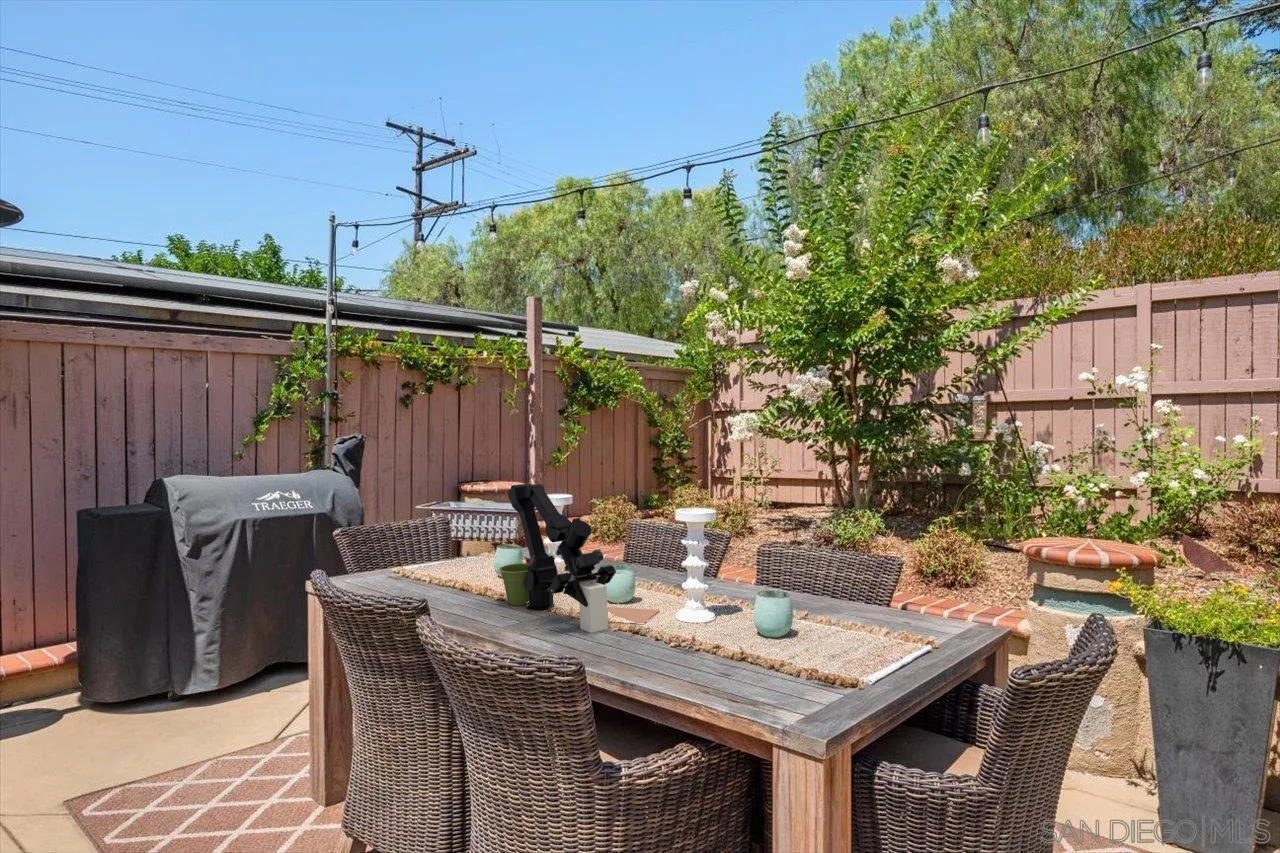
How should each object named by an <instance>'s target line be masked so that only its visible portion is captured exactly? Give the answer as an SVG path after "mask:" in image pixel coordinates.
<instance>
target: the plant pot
mask: <svg viewBox="0 0 1280 853" xmlns="http://www.w3.org/2000/svg"><path fill="white" fill-rule="evenodd" d="M527 567H528V563H526V562H525V563H521V562H520V563H510V564H506V565H503V566H500V567H499V568H498V571H499V572H500V573H501V577H502V578H501V579H502V580H503V585H504V590H505V595H506V600H507V603H508V605H512V606H523V604H524V605H526V604H527V603H526V602H528V601H529V589H526V588H525V587H524V582H523V581H524V579H525V577H526V575H527V574H528V568H527ZM525 603H526V604H525Z"/></svg>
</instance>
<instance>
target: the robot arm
mask: <svg viewBox="0 0 1280 853" xmlns="http://www.w3.org/2000/svg"><path fill="white" fill-rule="evenodd" d="M507 497H508V500H509V501H510V504H511V507H512V508H513V509H514V510H515V511H516V512H517V514H518V515H519V517H520V518H519V519H520V521H521V525H522V530H523V534H524V537H525V542H526V546H527V550H528V553H529V554H530V561H529V564H528V567H527V568H528V574H527V575H526V577H525V579H524V581H523V582H524V587H525V588H526V589H529V603H528V604H529V605H528V606H526V609H527V610H541V611H546V610H548V609H549V608H548V607H550V606H552V605H553V603H554V604H555V602H554V595H555V594H561V593H563V594H564V595H567V596H569V597H571V598H572V599H574V600H575V601H577V602H578V603H579V604H580V603H581V604H582V605H584V606H585V607H587V606H588V603H587V600H586V598H585V596H584V594H583V592H582V590H581V588H580V585H581V583H587V582H591V581H592V583H595V582H596V583H599V584H603V585H607V584H609V583H611V581H612V579H613V578H614V576H615V575H616V573H617V570H616V568H615V566H614V565H612V564H609V565H602V566H600V567H599V569H598V570H597V571H596V572H592V571H594V570H595V568H596V565H598V564H600V562H601V561H603V560H604V555H603V553H602V551H601V549H598V548H597V549H594V550H593V551H592V552H587V553H583V551H582V550H581V549H582V548H583V547H584V546H585V545H586V543H587V540H588V539H589V537H590V535H592V531H593V530H592V527H591V525H590V524H589V523H587V522H585V521H583V520H582V519H581V518H580V517H576V518H572V521H571V520H570V519H569V518H568V517H567V516H565V515H563V514H562V513H560V511H558V509H557V508H556V506H555V505H554V503H553V502H552V500H551V499H550V497H549V496H548V494H547V492H546V491H545V487H544V485H543V484H541V483H533V484H532V483H520V484H513V485H511V486H510V488H509V489H508V491H507ZM536 511H537V512H538V514H539V515H540V518H541V519H542V520H543V522H544V524H545V527H544V528H545V529H544V532H545V534H546V537H547V538H548V540H549V541H550V543H559V545H557V549H556V554H555V555H556V556H561V558H562V560H563V562H564V565H565V566H564V570H565V572H564V573H563V572H562V573H559V571H558V567H557V565H556V563H555V562H556V561H555V560H554V557H553V556H549V555H548V554H547V553H548V552H546V549H545V548H546V547H545V545H544V541H543V540H544V539H543V537H542V533H541V529H540V525H539V522H538V517H537V513H536ZM553 606H554V605H553ZM553 606H552V607H553ZM547 608H548V609H547ZM550 608H551V607H550Z"/></svg>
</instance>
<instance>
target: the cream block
mask: <svg viewBox="0 0 1280 853" xmlns="http://www.w3.org/2000/svg"><path fill="white" fill-rule="evenodd" d="M607 587H608V586H607V584H605V585H603V584H599V583H596V582H595V583H594V582H590V583H585V584H580V588H581V590H582V592H583V594H584V596H585V598H586V600H587V603H588V606H587V607H585V606H584V605H582V604H581V603H579V626H580V627H579V628H580V629H581V630H583V631H585V632H588V633H590V634H592V633H598V632H601V631H606V630H608V629H609V622H608V612H607V608H608V589H607Z"/></svg>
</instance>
